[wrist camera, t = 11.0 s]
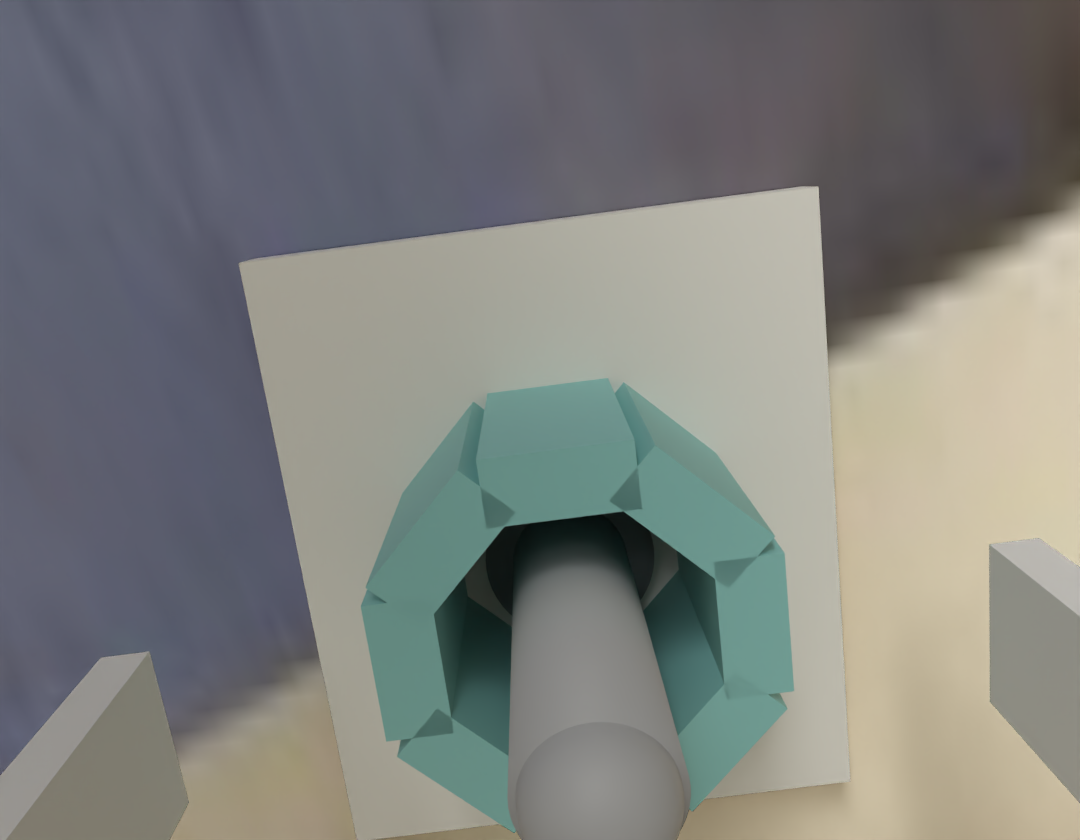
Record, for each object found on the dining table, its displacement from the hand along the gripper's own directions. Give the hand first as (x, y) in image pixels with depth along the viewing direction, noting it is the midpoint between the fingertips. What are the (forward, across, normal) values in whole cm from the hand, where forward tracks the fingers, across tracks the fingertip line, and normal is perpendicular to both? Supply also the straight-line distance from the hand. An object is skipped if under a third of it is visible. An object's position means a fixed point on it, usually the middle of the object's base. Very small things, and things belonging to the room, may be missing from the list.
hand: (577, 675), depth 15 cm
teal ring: (+6, 0, 0) cm, 6 cm away
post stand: (+8, 0, 0) cm, 8 cm away
